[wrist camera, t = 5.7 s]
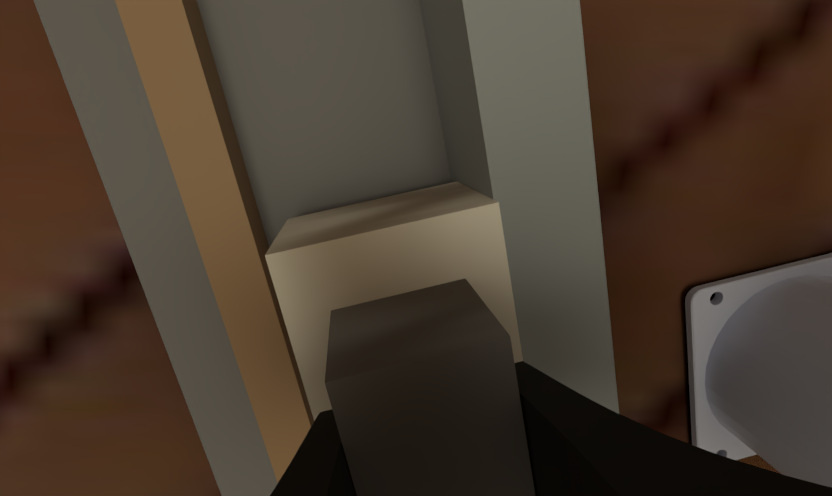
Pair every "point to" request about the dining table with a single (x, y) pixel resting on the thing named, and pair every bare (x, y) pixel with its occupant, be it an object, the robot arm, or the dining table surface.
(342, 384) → the cabinet block
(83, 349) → the dining table surface
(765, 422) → the robot arm
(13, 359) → the dining table surface
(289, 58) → the wall board
